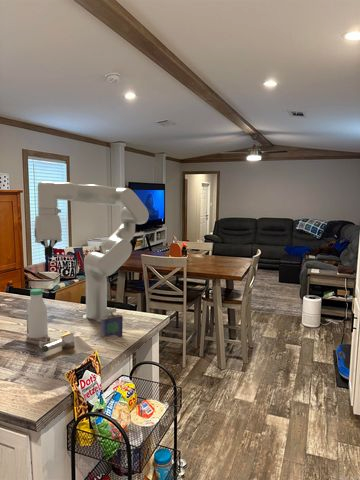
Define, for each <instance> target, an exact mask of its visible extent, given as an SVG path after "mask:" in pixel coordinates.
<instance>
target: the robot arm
mask: <svg viewBox="0 0 360 480" xmlns="http://www.w3.org/2000/svg"><path fill="white" fill-rule="evenodd" d="M58 200H61V201H70V202H71V201H73V202H81V203H86V204H93V205H103V206H104V205H105V206H113V207H115V206H116V207H123V208H122V209H121V211H120V224H119V227H118V228H117V229H116V230H115V231H114V232H113V233H112V234H111V235H109V237H108V238H106V240H105V241H104V242H103V243H102V246H101V249H102V252H103V253H102V252H99V251H91V252H89V253H87V254H86V256H85V257H84V260H83V268H84V275H85V313H84V314H83V315H82V319H87V318H88V319H89V320H94V321H95V322H97V323H99V324H101V318H104V317H109V315H110V312H112V313H116V312H117V308H116V307H113V308H112V307H108V306H107V305H108V304H107V303H108V281H107V280H108V279H107V277H109V276H111V275H113V274H115V273H116V272H117V271H118V270H119V268H120V267H122V265H124V264H125V262H126V261H127V260H128V259H129V258H130V256H131V254H132V252H133V245H132V242H131V241H132V240H133V239H134V236H135V233H136V225H143V224H146V223H147V222H148V220H149V219H150V217H149V216H150V214H149V210H148V208H147V206H146V205H145V204H144V203H143V202H142V200H141V199H140V198H139V196H138V195H137V194H136V193H135V191H133V190H132V189H131V188H129V187H115V186H109V185H108V186H106V185H100V184H75V183H72V182H70V181H67V182H66V181H60V182H59V181H58V182H53V181H40V182H38V183H37V211H38V212H37V214H38V215H35V221H34V232H33V233H34V239H35V240H34V243H36V244H41V245H42V246H43V247H44V255H45V256H46V257H48V258H49V257H53V255H54V247H55V245H56V244H57V243H60V242H62V241H63V239H62V236H63V233H62V232H63V231H62V223H61V217H60V215H59V214H60V213H62V209H59V207H58V205H59V204H58ZM48 240H49V242H48Z"/></svg>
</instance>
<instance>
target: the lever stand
mask: <svg viewBox="0 0 360 480" xmlns="http://www.w3.org/2000/svg"><path fill="white" fill-rule="evenodd" d="M55 341H56V340H54V341H53V340H52V338H51V337H50V336H47V338H46V339H43V340H39V341H38V343H39V344H37V345H36V346H37V347H38V348H39V350H40V351H41V352H42V350H41V348H42V346H44V345H47V344H50V343H53V342H55ZM89 351H94V349H93V347H92V346H90V345H89V344H88V343H87V342H86V341H85V340H84V339H83V338H81V337H80V336H78V335H76V336H74V347H72V348H69V349H64V348H62V346H59V347H57V348H54V349H51V350H49V351H47V352H42V353H43V355H44V356H45V357H46V358H47V359H48V361H49V362H50V361H54V360H58V359H63V358H65V357H66V358H67V357H70V356H75V355H78V354H81V353H85V352H86V353H87V352H89Z"/></svg>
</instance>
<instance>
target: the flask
mask: <svg viewBox="0 0 360 480" xmlns="http://www.w3.org/2000/svg"><path fill="white" fill-rule="evenodd" d="M113 313H114V312H113ZM113 313H112V312H110V315H109V317H104V318H101V322H100V337H102V338H105V337H109V336H116V337H118V338H122V337H123V321H124V319H123V315H122V314H113Z"/></svg>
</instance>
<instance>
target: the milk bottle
mask: <svg viewBox="0 0 360 480" xmlns="http://www.w3.org/2000/svg"><path fill="white" fill-rule="evenodd" d="M29 294H30V295H29V296H30V299H29V302H28V305H27V308H26V336H27V338H29V339H39V338H41V339H42V338H44V337H46V336H47V335H48V331H49V330H48V309H47V308H48V307H47V305H46V303H45V301H44V299H43V289H42V288H33V289H31V290H30V291H29Z"/></svg>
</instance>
